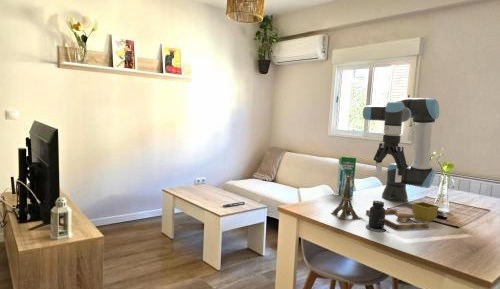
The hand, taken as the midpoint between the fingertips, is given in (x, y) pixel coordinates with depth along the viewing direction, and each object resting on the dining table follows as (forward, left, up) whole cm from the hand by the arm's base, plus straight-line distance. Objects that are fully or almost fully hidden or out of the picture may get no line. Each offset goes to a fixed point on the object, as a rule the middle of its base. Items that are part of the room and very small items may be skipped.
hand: (387, 178), depth 156 cm
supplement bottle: (+8, +6, -22) cm, 24 cm away
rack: (-6, +1, -22) cm, 23 cm away
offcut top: (-11, +1, -19) cm, 22 cm away
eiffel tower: (+14, -12, -22) cm, 29 cm away
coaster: (+9, +6, -22) cm, 24 cm away
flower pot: (-23, +1, -22) cm, 32 cm away
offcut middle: (-10, +1, -21) cm, 23 cm away
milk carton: (-13, -55, -22) cm, 61 cm away
